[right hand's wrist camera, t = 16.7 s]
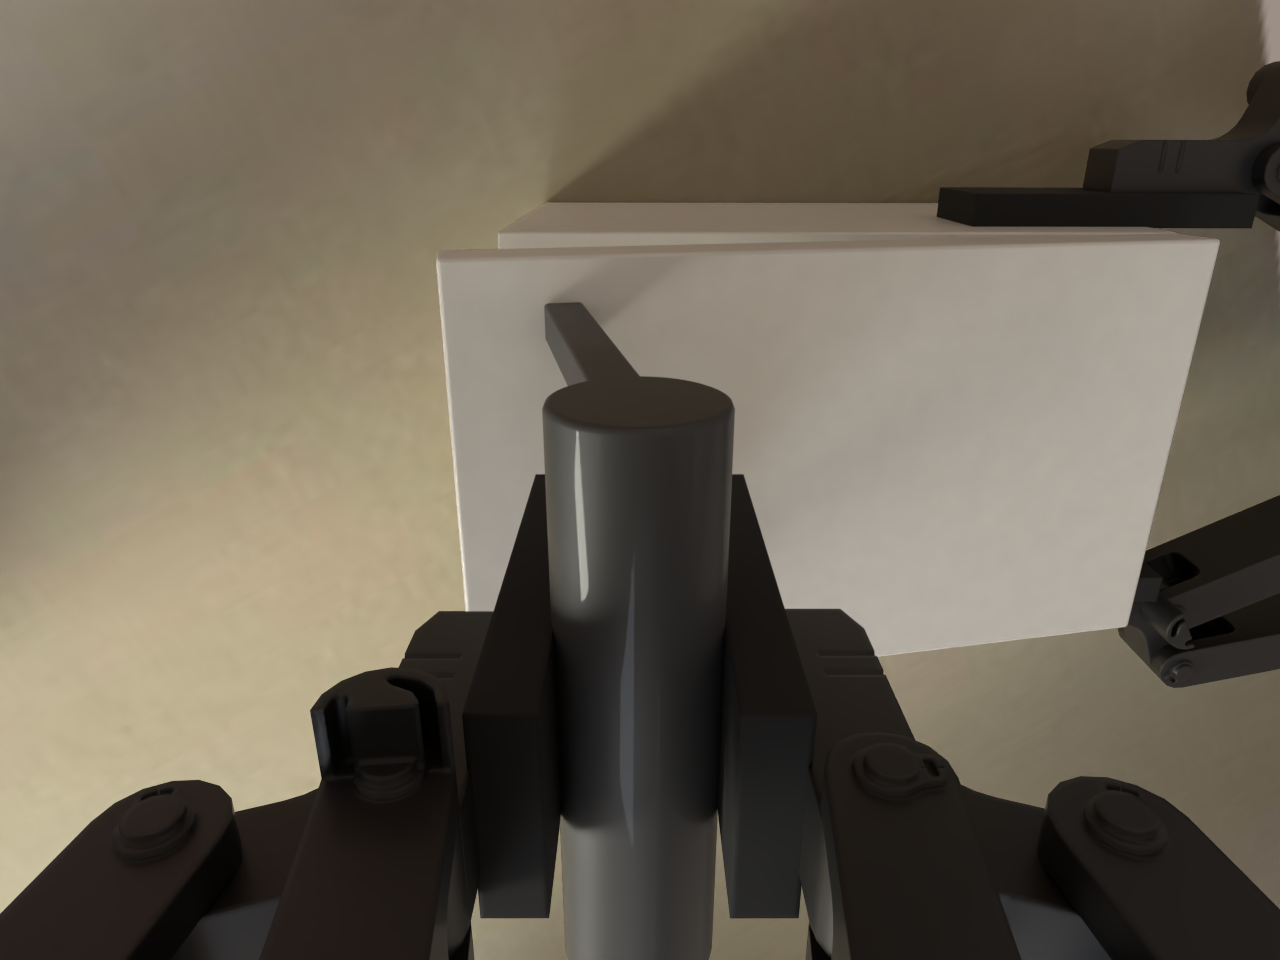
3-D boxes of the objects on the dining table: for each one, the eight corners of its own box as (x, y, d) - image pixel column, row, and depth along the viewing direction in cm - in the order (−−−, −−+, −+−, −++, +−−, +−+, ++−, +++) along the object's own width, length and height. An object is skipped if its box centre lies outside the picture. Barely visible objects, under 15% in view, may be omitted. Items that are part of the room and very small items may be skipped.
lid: (472, 673, 19) (488, 1075, 11) (436, 249, 16) (420, 371, 8) (1093, 602, 22) (1475, 877, 14) (1176, 232, 19) (1746, 307, 11)
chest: (554, 471, 31) (518, 598, 22) (543, 202, 28) (496, 231, 19) (972, 473, 31) (1097, 601, 22) (1014, 202, 27) (1180, 232, 19)
